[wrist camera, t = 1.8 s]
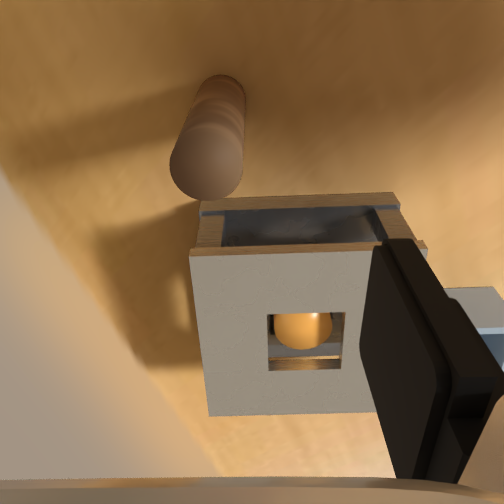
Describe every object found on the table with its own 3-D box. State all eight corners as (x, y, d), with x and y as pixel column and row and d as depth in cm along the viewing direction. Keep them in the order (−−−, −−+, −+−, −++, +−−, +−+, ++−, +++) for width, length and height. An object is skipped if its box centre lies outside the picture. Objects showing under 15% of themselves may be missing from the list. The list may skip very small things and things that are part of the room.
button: (329, 286, 33) (333, 304, 31) (327, 330, 35) (330, 348, 34) (272, 288, 33) (273, 305, 32) (273, 331, 35) (274, 350, 34)
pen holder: (493, 286, 39) (523, 326, 34) (477, 345, 42) (502, 388, 38) (414, 289, 39) (435, 329, 35) (404, 347, 42) (422, 390, 38)
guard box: (393, 192, 34) (428, 248, 27) (374, 338, 42) (398, 411, 35) (201, 199, 35) (188, 256, 28) (216, 342, 42) (209, 416, 35)
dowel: (244, 74, 30) (240, 130, 20) (246, 123, 32) (244, 199, 22) (194, 76, 30) (164, 133, 20) (199, 125, 32) (174, 202, 22)
